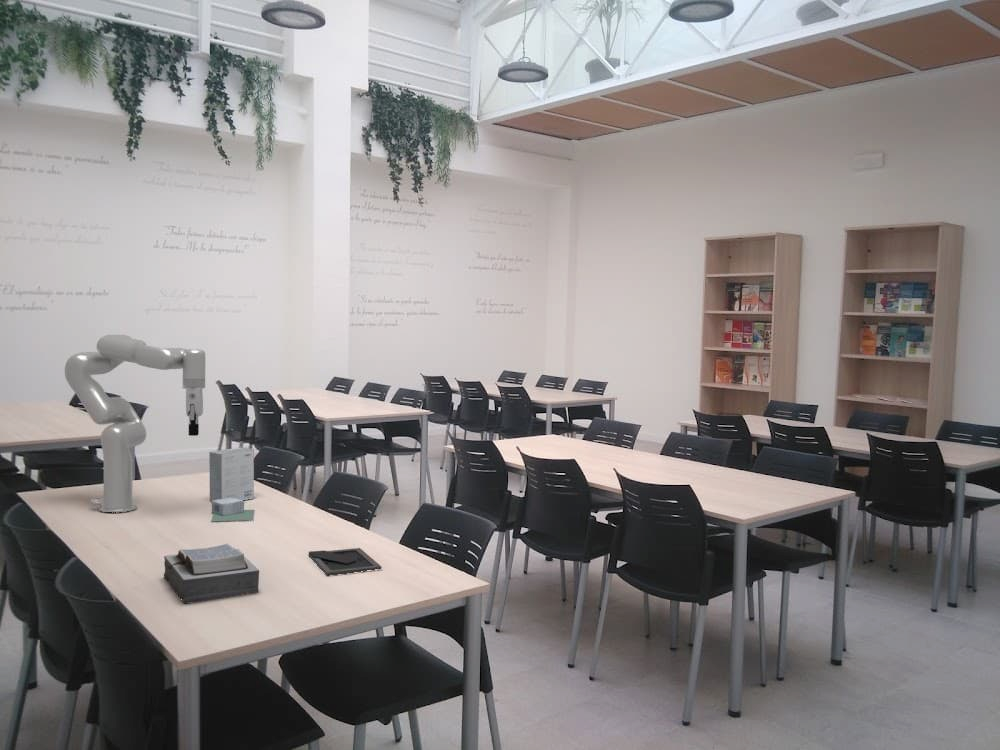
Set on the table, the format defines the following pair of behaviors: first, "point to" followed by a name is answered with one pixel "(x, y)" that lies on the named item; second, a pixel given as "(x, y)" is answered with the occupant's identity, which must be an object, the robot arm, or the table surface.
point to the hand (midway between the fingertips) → (193, 435)
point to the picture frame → (343, 561)
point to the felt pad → (234, 517)
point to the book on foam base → (210, 573)
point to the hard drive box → (232, 474)
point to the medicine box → (227, 506)
